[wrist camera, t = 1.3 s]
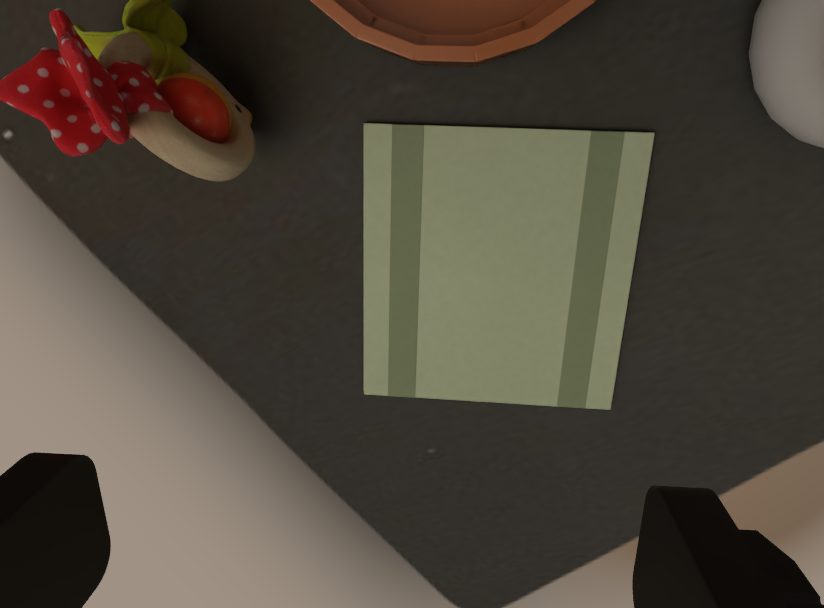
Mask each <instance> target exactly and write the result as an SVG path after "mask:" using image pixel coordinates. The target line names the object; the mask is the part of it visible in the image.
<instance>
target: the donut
mask: <svg viewBox="0 0 824 608" xmlns="http://www.w3.org/2000/svg"><path fill="white" fill-rule="evenodd" d="M749 60H750V66H751V72H752V78H753V85H754V90H755V92H756V93H757V95H758V97H759V99H760V100H761V102H762V104H763V106H764V107H765V109H766V111H767V113H768V114H769V116H770V118H771V119H772V120H774V121H775V122H776V123H777V124H778V125H780V126H781V127H782V128H783V129H785V130H786V131H787V132H788V133H790V134H791V135H792V136H793V137H795V138H796V139H798V140H800V141H803V142H806V143H809V144H812V145H815V146H818V147H821V148H824V0H761V2H760V4H759V7H758V9H757V11H756V13H755V15H754V22H753V28H752V35H751V42H750V48H749Z"/></svg>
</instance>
